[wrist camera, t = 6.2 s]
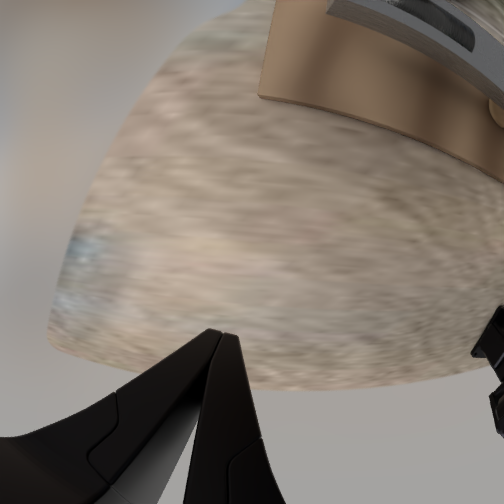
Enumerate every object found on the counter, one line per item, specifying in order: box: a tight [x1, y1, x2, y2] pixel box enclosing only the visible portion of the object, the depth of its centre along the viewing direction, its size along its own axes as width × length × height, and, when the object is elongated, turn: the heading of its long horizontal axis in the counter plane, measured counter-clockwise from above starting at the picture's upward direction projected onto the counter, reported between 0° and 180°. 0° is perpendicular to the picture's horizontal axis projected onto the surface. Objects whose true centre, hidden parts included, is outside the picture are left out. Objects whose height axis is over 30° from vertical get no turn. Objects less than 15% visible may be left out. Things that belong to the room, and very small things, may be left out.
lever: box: [325, 0, 504, 110], centre depth 7 cm, size 19×3×2 cm, turn 80°
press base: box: [257, 0, 504, 184], centre depth 12 cm, size 24×10×2 cm, turn 80°
